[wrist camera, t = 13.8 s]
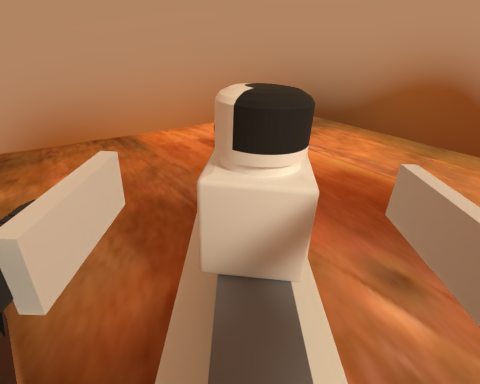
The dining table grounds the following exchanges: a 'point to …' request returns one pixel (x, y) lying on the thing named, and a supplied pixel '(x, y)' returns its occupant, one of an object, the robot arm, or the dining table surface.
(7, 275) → the robot arm
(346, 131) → the dining table surface
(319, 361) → the stand
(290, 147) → the medicine bottle
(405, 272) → the dining table surface
